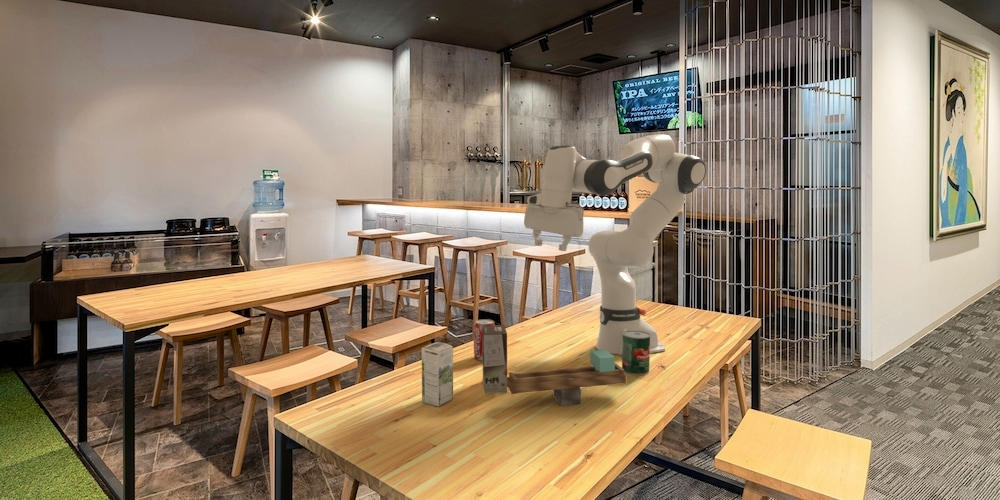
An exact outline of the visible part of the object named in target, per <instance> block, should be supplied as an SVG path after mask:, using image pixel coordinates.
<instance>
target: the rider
mask: <svg viewBox="0 0 1000 500" xmlns="http://www.w3.org/2000/svg"><path fill="white" fill-rule="evenodd" d="M589 352H590V353H589V364H590V365H591V367H594V368H595V371H599V372H608V371H615V363H616V360H615V359H616V357H615V356H614V354H612V353H609V352H607V351H606V350H605V349H604V350H598V349H593V350H590V351H589Z"/></svg>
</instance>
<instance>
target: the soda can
mask: <svg viewBox="0 0 1000 500" xmlns="http://www.w3.org/2000/svg"><path fill="white" fill-rule="evenodd" d="M491 325H496V324H495V321H494V320H492V319H486V318H485V319H484V318H483V319H478V320H476V321H475V325H474V326H473V355H474V358H475V359H477V360H478V361H480V362H483V359H482V326H491Z"/></svg>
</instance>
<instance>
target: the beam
mask: <svg viewBox="0 0 1000 500" xmlns="http://www.w3.org/2000/svg"><path fill="white" fill-rule="evenodd" d="M619 384H620V385H621V384H627V373H625V372H624V369H623V368H622V366H620V365H619V364H618V363H616V362H615V371H608V372H599V371H595V368H594V367H593V366H585V367H584V366H582V367H573V368H572V367H571V368H570V367H569V368H561V369H549V370H548V369H547V370H537V371H526V372H525V371H523V372H513V371H511V372H510V371H509V372H508V376H507V390H509V392H510V393H511V394H512V395H513V394H514V395H515V394H524V393H525V394H526V393H535V392H546V391H552V396H553V397H554V399H555V400H556V401H557V402H558V403H559V405H560V406H561V407H567V406H568V407H570V406H578V405H582V388H590V387H599V386H609V385H610V386H611V385H619Z"/></svg>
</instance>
